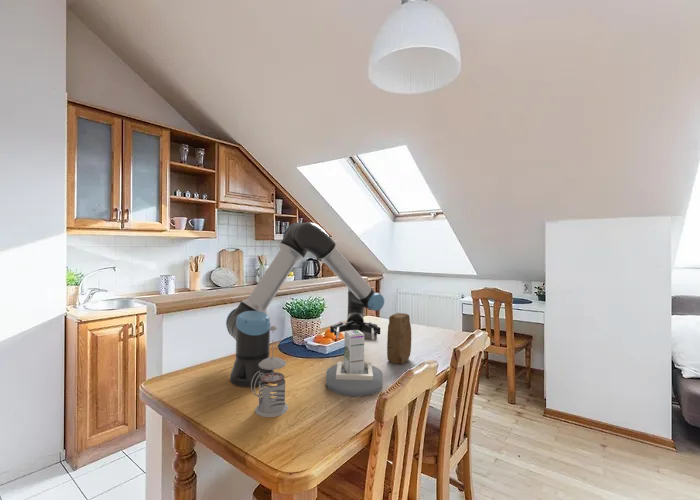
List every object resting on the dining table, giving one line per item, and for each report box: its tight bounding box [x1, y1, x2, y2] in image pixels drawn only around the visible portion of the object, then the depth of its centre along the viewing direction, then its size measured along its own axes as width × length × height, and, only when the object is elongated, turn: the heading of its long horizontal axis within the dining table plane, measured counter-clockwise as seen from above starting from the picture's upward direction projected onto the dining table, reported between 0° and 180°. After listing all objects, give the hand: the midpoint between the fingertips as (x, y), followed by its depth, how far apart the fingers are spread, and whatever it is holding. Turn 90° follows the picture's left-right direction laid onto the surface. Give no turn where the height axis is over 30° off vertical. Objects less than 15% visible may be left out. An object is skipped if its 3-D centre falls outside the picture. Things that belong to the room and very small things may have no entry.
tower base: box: [325, 361, 384, 397], centre depth 123 cm, size 20×20×6 cm
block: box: [386, 312, 412, 365], centre depth 147 cm, size 11×8×20 cm
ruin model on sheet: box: [362, 321, 378, 340], centre depth 182 cm, size 11×3×10 cm, turn 58°
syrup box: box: [343, 330, 365, 374], centre depth 122 cm, size 6×6×14 cm
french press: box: [250, 325, 289, 418], centre depth 102 cm, size 10×12×25 cm
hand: (355, 335), depth 132 cm, fingers open, 13 cm apart
